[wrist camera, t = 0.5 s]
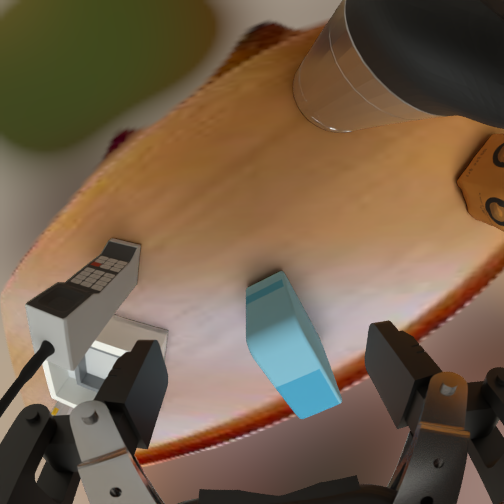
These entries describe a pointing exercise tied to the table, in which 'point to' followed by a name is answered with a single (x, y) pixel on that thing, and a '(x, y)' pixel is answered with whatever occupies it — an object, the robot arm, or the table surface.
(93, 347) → the box
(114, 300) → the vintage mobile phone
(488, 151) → the coffee package
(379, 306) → the table surface
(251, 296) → the data package
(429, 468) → the robot arm
